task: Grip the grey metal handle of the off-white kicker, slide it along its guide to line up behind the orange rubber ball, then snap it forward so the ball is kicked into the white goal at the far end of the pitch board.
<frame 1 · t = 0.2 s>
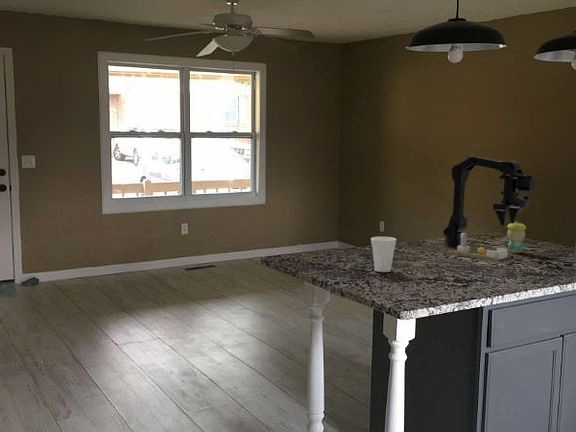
hand: (507, 224, 279), 14 cm above the kitchen island, fingers open, 9 cm apart
ball: (481, 251, 278), point 3 cm above the kitchen island, touching pitch
kicker: (463, 242, 284), point 5 cm above the kitchen island, slide at 0.0 cm
pitch: (479, 256, 279), on the kitchen island
toy: (515, 254, 286), on the kitchen island
cup: (382, 271, 248), on the kitchen island
goal: (497, 257, 273), resting on pitch
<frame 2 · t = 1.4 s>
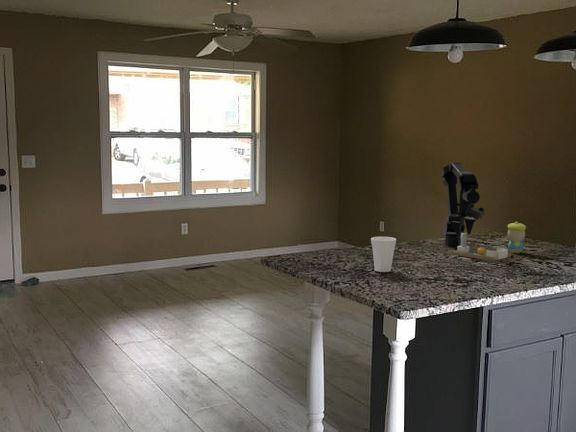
hand: (463, 235, 284), 9 cm above the kitchen island, fingers open, 9 cm apart
nothing on the kitchen island moved.
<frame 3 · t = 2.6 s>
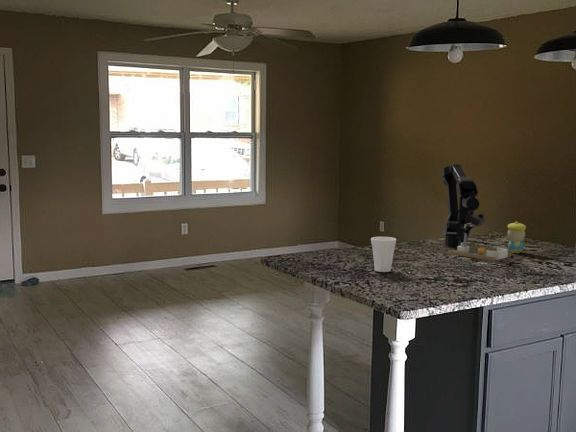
hand: (463, 242, 284), 6 cm above the kitchen island, fingers closed on kicker, 2 cm apart
kicker: (463, 242, 284), point 5 cm above the kitchen island, slide at 0.0 cm, touching gripper
everything else where it was.
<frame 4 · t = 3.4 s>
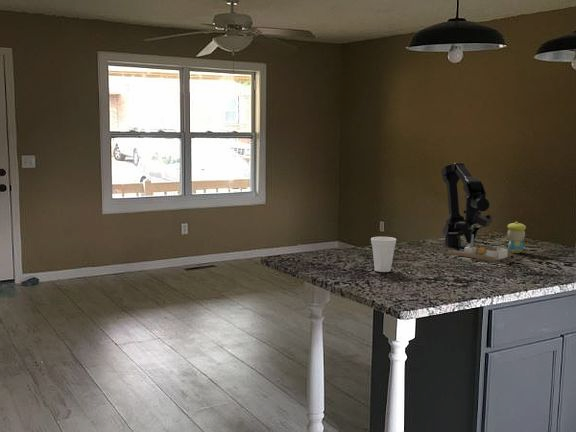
hand: (470, 243, 282), 6 cm above the kitchen island, fingers closed on kicker, 2 cm apart
kicker: (470, 243, 282), point 5 cm above the kitchen island, slide at 3.5 cm, touching gripper
everything else where it was.
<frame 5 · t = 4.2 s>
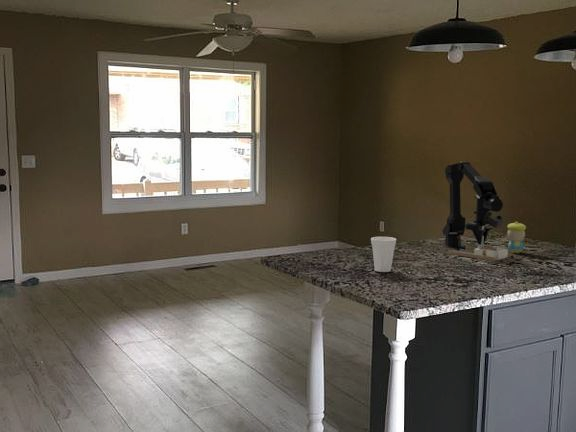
hand: (481, 244, 278), 6 cm above the kitchen island, fingers closed on kicker, 2 cm apart
ball: (488, 252, 276), point 3 cm above the kitchen island, tilted 104°, touching pitch
kicker: (480, 245, 278), point 5 cm above the kitchen island, slide at 8.5 cm, touching gripper
everything else where it was.
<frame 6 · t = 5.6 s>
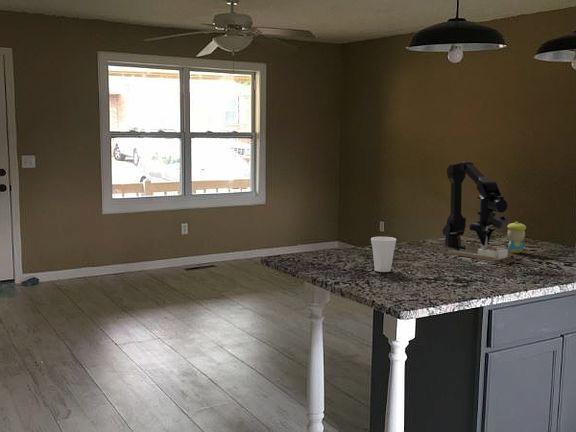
hand: (485, 245, 277), 6 cm above the kitchen island, fingers closed on kicker, 2 cm apart
ball: (491, 252, 275), point 3 cm above the kitchen island, tilted 159°, touching pitch
kicker: (484, 245, 277), point 5 cm above the kitchen island, slide at 10.2 cm, touching gripper
everything else where it was.
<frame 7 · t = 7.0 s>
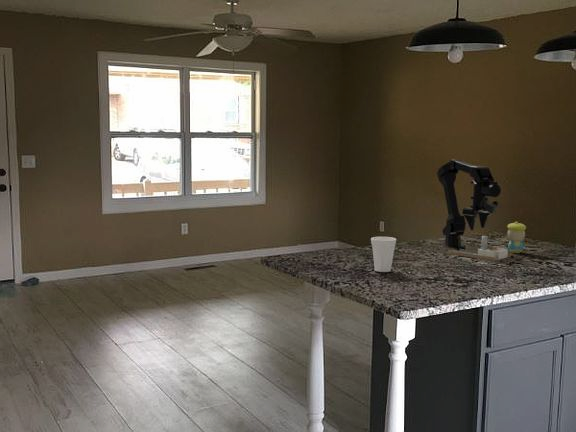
hand: (477, 228, 283), 12 cm above the kitchen island, fingers open, 9 cm apart
ball: (494, 253, 274), point 3 cm above the kitchen island, tilted 164°, touching pitch
kicker: (484, 245, 277), point 5 cm above the kitchen island, slide at 10.2 cm
everything else where it was.
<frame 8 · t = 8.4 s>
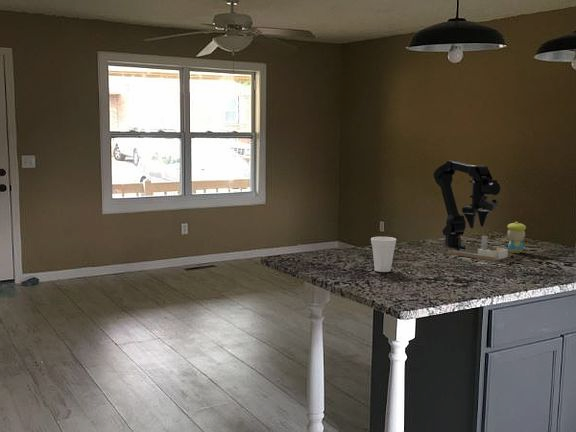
hand: (477, 227, 285), 12 cm above the kitchen island, fingers open, 9 cm apart
ball: (496, 253, 273), point 3 cm above the kitchen island, tilted 127°, touching pitch
everything else where it was.
at the end: ball inside the target area (0.2 cm from its centre), point 2.5 cm above the kitchen island; kicker slide at 10.2 cm; the gripper is holding nothing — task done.
